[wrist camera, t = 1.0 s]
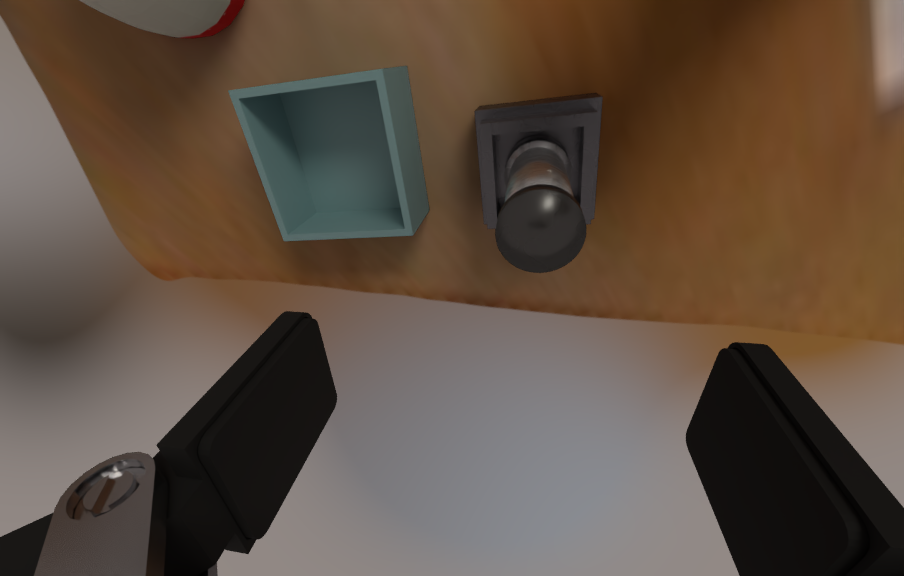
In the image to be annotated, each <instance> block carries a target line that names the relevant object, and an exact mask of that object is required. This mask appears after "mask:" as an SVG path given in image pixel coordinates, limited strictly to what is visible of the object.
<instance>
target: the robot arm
mask: <svg viewBox="0 0 904 576" xmlns="http://www.w3.org/2000/svg"><path fill="white" fill-rule="evenodd" d="M336 402H337V393H336V390H335V386H334V382H333V378H332V375H331V371H330V367H329V363H328V360H327V356H326V352H325V348H324V344H323V341H322V337H321V333H320V330H319V326H318V323H317V321H316V320H315V319H312V317H311V315H310V314H309V313H304V312H290V311H289V312H288V311H287V312H284V313H282V314H281V315H280V316H279V317H278V318H277V319H276V320H275V321H274V322H273V323H272V324H271V326H270V327H269V328H268V329H267V330H266V331H265V332H264V333H263V334H262V335H261V336H260V337H259V338H258V339H257V340H256V341H255V342H254V343H253V344H252V345H251V347H250V348H248V350H247V351H246V352H245V353H244V354H243V355H242V356H241V357H240V358H239V359H238V360H237V361H236V362H235V363H234V364H233V366H231V367H230V368H229V369H228V370H227V372H226V373H225V374H224V375H223V376H222V377H221V378H220V379H219V380H218V381H217V382H216V383H215V384H214V385H213V386H212V387H211V388H210V389H209V390H208V391H207V393H206V394H205V395H204V396H203V397H202V398H201V399H200V400H199V401H198V402H197V403H196V404H195V405H194V406H193V407H192V408H191V409H190V410H189V411H188V412H187V413H186V415H185V416H184V417H183V418H182V419H181V420H180V421H179V422H178V423H177V424H176V425H175V426H174V427H173V428H172V429H171V430H170V431H169V432H168V433H167V435H165V437H164V438H163V439H162V440H161V441H160V442H159V443H158V444H157V447H158V448H159V450H160V451H159V452H158V453H157V454H156V455H155V457H153V458H152V457H151V456H150V455H148V454H145V453H141V452H132V453H125V454H122V455H119V456H115V457H112V458H110V459H108V460H106V461H104V462H102V463H99V464H98V465H96V466H95V467H93V468H91V469H90V470H88V471H87V472H85V473H84V474H83V475H82V476H81V477H79V478H78V479H77V480H76V481H75V482H74V483H72V484H71V485H70V486H69V488H68V489H67V490H66V491H65V493H64V494H63V495H62V496H61V497H60V499H59V502H58V504H57V505H56V507H55V509H54V513H52V514H50V515H47V516H45V517H43V518H41V519H39V520H36V521H34V522H32V523H30V524H28V525H26V526H23V527H21V528H19V529H17V530H15V531H12V532H10V533H8V534H6V535H4V536H2V537H0V576H217V561H218V559H219V558H220V556H221V554H222V553H223V551H224V549H225V550H229V551H234V552H240V553H246V554H249V552H250V550H251V548H252V547H253V545H254V543H255V541H256V539H260V538H262V537H263V536H264V535H265V533H266V532H267V531H268V529H269V527H270V525H271V523H272V521H273V520H274V518H275V516H276V514H277V512H278V511H279V509H280V507H281V505H282V503H283V501H284V499H285V498H286V496H287V494H288V492H289V491H290V489H291V487H292V485H293V483H294V481H295V480H296V478H297V476H298V474H299V472H300V470H301V469H302V467H303V465H304V463H305V461H306V460H307V458H308V456H309V454H310V452H311V450H312V449H313V447H314V445H315V443H316V441H317V439H318V438H319V436H320V434H321V432H322V430H323V429H324V427H325V425H326V423H327V421H328V419H329V418H330V416H331V414H332V412H333V410H334V408H335V405H336ZM686 443H687V447H688V450H689V453H690V455H691V457H692V460H693V462H694V465H695V467H696V470H697V472H698V475H699V477H700V479H701V482H702V484H703V486H704V489H705V491H706V494H707V496H708V499H709V502H710V504H711V506H712V509H713V511H714V514H715V516H716V519H717V521H718V524H719V526H720V529H721V531H722V534H723V536H724V538H725V541H726V543H727V546H728V548H729V551H730V553H731V555H732V558H733V561H734V563H735V565H736V568H737V570H738V573H739V575H740V576H904V508H903V506H902V505H901V504H900V503H899V502H898V500H897V499H896V498H895V497H894V496H893V494H892V493H891V492H890V491H889V490H888V488H887V487H886V486H885V485H884V484H883V483H882V481H881V480H880V479H879V478H878V476H877V475H876V474H875V473H874V472H873V470H872V469H871V468H870V467H869V466H868V464H867V463H866V462H865V461H864V460H863V458H862V457H861V456H860V455H859V454H858V453H857V451H856V450H855V449H854V448H853V446H852V445H851V444H850V443H849V442H848V440H847V439H846V438H845V437H844V436H843V434H842V433H841V432H840V431H839V430H838V428H837V427H836V426H835V425H834V424H833V422H832V421H831V420H830V419H829V418H828V416H827V415H826V414H825V413H824V411H823V410H822V409H821V408H820V407H819V406H818V404H817V403H816V402H815V401H814V400H813V399H812V397H811V396H810V395H809V393H808V392H807V391H806V390H805V389H804V387H803V386H802V385H801V384H800V383H799V382H798V380H797V379H796V378H795V377H794V375H793V374H792V373H791V372H790V371H789V369H788V368H787V367H786V366H785V365H784V363H783V362H782V361H781V360H780V359H779V358H778V356H777V355H776V354H775V353H774V351H773V350H772V349H771V348H770V347H769V346H767V345H764V344H752V343H738V342H735V343H732V344H730V345H729V347H728V348H727V349H726V348H724V349H722V350H721V351H720V352H719V354H718V356H717V358H716V361H715V363H714V366H713V369H712V370H711V373H710V375H709V378H708V380H707V383H706V385H705V388H704V390H703V392H702V395H701V397H700V400H699V402H698V405H697V408H696V409H695V412H694V414H693V417H692V420H691V422H690V424H689V427H688V429H687V433H686Z"/></svg>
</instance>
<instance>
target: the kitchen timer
mask: <svg viewBox="0 0 904 576" xmlns="http://www.w3.org/2000/svg"><path fill="white" fill-rule="evenodd" d="M79 1H81V2H83V3H85V4H86V5H88V6H90V7H92V8H94V9H96V10H97V11H99V12H101V13H104V14H106V15H108V16H110V17H112V18H115V19H117V20H119V21H122V22H124V23H126V24H129V25H131V26H133V27H136V28H139V29H142V30H146V31H149V32H154V33H158V34H162V35H167V36H171V37H176V38H199V37H206V36H213V35H215V34H216V33H218V32H219V31H221V30H222V29H224V28H226V27H227V26H229V25H230V24H231V23H232V21H233V20H234V18H235V17H236V15H237V14H238V12H239V11H240V9H241V8H242V7H243V4H244V1H245V0H79Z"/></svg>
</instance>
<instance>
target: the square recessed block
mask: <svg viewBox="0 0 904 576" xmlns="http://www.w3.org/2000/svg"><path fill="white" fill-rule="evenodd" d="M601 111H602V96H601V95H599V94H597V93H591V94H582V95H573V96H564V97H555V98H547V99H538V100H529V101H520V102H511V103H502V104H494V105H485V106H479V107H478V108H477V109H476V110H475V121H476V134H477V146H478V158H479V170H480V182H481V194H482V206H483V218H484V224H487V227H488V229H493V228H496V224H497V219H498V215H499V212H500V210H501V208H502V206H503V204H504V202H505V196H506V191H507V189H506V186H505V181H504V172H505V167H506V162H507V159H508V156H509V154H510V152H511V150H512V149H513V147H514V146H515V145H516V144H517V143H519V142H520V141H521V140H523V139H525V138H527V137H529V136H533V135H546V136H550V137H552V138H554V139H556V140H557V141H559V142H560V143H561V144H562V145H563V147H564V148H565V150H566V152H567V155H568V158H569V161H570V164H571V169H572V175H571V181H570V185H571V189H572V192H573V196H574V198H575V199H576V200H577V202H578V203H579V205H580V207H581V209H582V212H583V215H584V218H585V222H586V224H591V219H594V212H595V197H596V183H597V169H598V154H599V140H600V126H601Z"/></svg>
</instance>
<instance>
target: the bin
mask: <svg viewBox="0 0 904 576" xmlns="http://www.w3.org/2000/svg"><path fill="white" fill-rule="evenodd" d="M228 92H229V94H230V97H231V100H232V102H233V105H234V108H235V110H236V113H237V116H238V119H239V121H240V124H241V127H242V129H243V132H244V135H245V137H246V140H247V143H248V146H249V148H250V151H251V154H252V156H253V159H254V162H255V164H256V167H257V170H258V173H259V175H260V178H261V181H262V183H263V186H264V189H265V191H266V194H267V197H268V200H269V202H270V205H271V208H272V210H273V213H274V216H275V218H276V221H277V224H278V227H279V229H280V232H281V235H282V237H283V240H284V241H300V240H323V239H346V238H369V237H392V236H413V235H414V234H415V232H416V230H417V229H418V227H419V226H420V224H421V223H422V221H423V219H424V218H425V216H426V215H427V213H428V212H429V204H428V198H427V191H426V185H425V178H424V172H423V165H422V159H421V153H420V146H419V140H418V133H417V127H416V121H415V114H414V108H413V101H412V95H411V89H410V82H409V76H408V69H407V66H401V67H393V68H385V69H377V70H370V71H363V72H356V73H349V74H342V75H335V76H328V77H321V78H314V79H307V80H300V81H293V82H286V83H278V84H271V85H264V86H257V87H250V88H243V89H236V90H229V91H228Z"/></svg>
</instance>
